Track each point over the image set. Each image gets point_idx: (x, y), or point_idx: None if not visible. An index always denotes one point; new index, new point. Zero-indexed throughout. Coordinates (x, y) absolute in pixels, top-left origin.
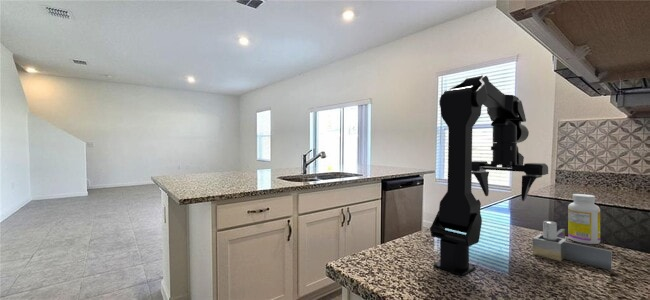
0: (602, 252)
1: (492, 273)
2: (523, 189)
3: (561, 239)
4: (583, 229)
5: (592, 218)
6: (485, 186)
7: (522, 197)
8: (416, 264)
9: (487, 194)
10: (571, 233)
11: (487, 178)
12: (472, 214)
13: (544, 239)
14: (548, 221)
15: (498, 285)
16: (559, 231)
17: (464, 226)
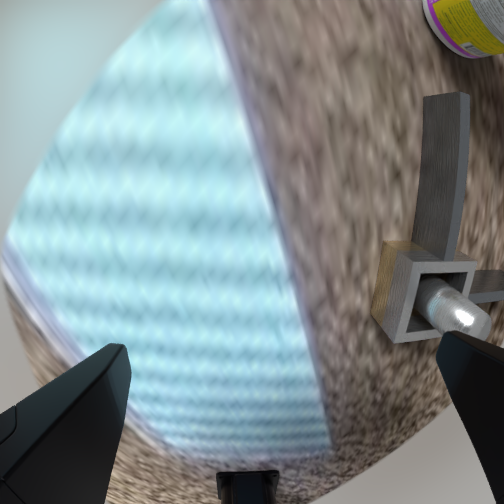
0: None
1: (308, 464)
2: (484, 446)
3: (464, 271)
4: (496, 50)
5: None
6: (102, 466)
7: (449, 384)
8: (194, 500)
9: (125, 372)
10: (450, 31)
11: (12, 492)
12: None
13: (423, 316)
14: (474, 323)
15: (326, 480)
16: (463, 153)
17: None
